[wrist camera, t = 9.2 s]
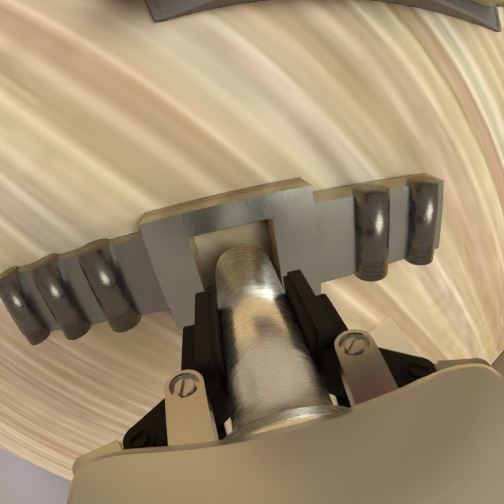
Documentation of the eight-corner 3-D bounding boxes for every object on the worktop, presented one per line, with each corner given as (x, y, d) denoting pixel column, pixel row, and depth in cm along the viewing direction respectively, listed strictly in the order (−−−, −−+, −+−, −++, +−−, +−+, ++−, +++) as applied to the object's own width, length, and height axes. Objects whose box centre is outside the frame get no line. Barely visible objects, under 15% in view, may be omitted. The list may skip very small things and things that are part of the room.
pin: (197, 245, 14) (198, 464, 5) (275, 227, 15) (385, 417, 5) (215, 308, 16) (239, 503, 6) (284, 292, 16) (362, 471, 7)
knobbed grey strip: (33, 336, 18) (20, 362, 15) (-7, 263, 15) (-29, 284, 12) (421, 248, 20) (445, 267, 17) (424, 159, 17) (455, 169, 14)
